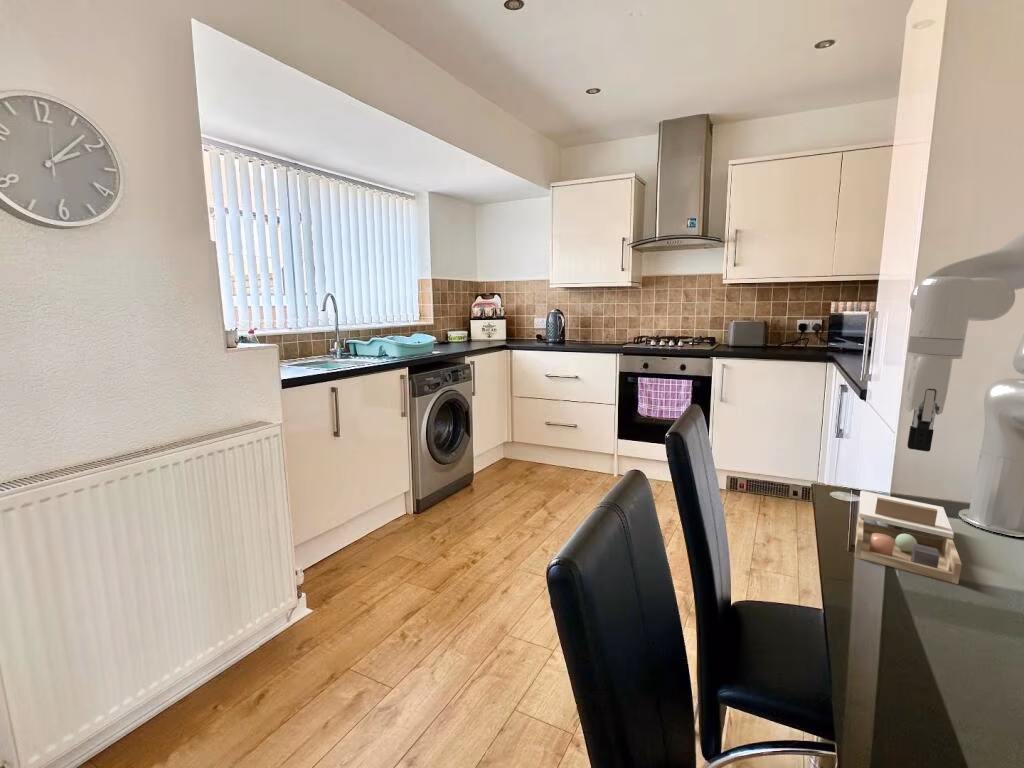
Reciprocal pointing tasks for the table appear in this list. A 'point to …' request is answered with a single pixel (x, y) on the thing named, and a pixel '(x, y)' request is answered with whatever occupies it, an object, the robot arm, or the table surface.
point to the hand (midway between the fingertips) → (918, 449)
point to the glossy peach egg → (882, 544)
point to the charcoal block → (925, 555)
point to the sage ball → (905, 542)
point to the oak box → (902, 560)
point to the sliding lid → (905, 513)
